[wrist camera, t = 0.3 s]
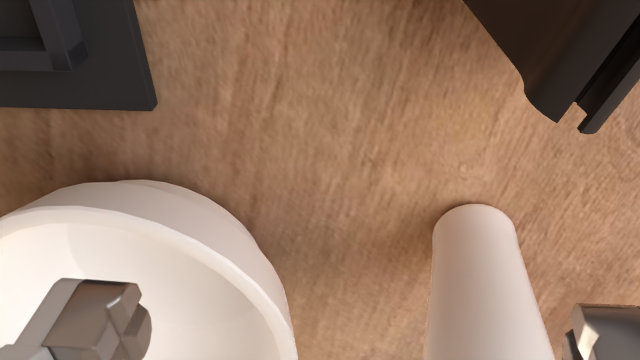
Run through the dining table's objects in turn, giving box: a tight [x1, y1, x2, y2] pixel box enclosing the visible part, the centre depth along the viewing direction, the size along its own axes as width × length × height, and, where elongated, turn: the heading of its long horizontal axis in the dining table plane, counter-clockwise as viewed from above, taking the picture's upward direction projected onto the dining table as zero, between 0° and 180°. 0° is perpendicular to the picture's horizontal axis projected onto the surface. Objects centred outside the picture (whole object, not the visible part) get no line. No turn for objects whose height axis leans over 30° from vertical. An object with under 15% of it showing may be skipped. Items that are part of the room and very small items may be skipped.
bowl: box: [0, 179, 298, 360], centre depth 41 cm, size 22×22×8 cm
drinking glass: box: [422, 204, 555, 360], centre depth 33 cm, size 7×7×15 cm
